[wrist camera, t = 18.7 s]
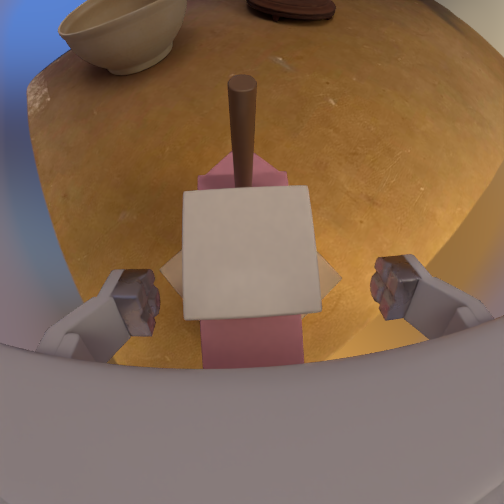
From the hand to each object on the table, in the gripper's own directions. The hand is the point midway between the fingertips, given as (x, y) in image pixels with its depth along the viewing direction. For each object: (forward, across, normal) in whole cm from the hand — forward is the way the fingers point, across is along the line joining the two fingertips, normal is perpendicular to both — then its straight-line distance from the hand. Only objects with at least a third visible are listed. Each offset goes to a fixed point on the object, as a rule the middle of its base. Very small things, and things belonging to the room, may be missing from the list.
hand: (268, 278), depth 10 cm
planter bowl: (+31, -14, +14) cm, 37 cm away
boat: (+6, -1, -4) cm, 7 cm away
